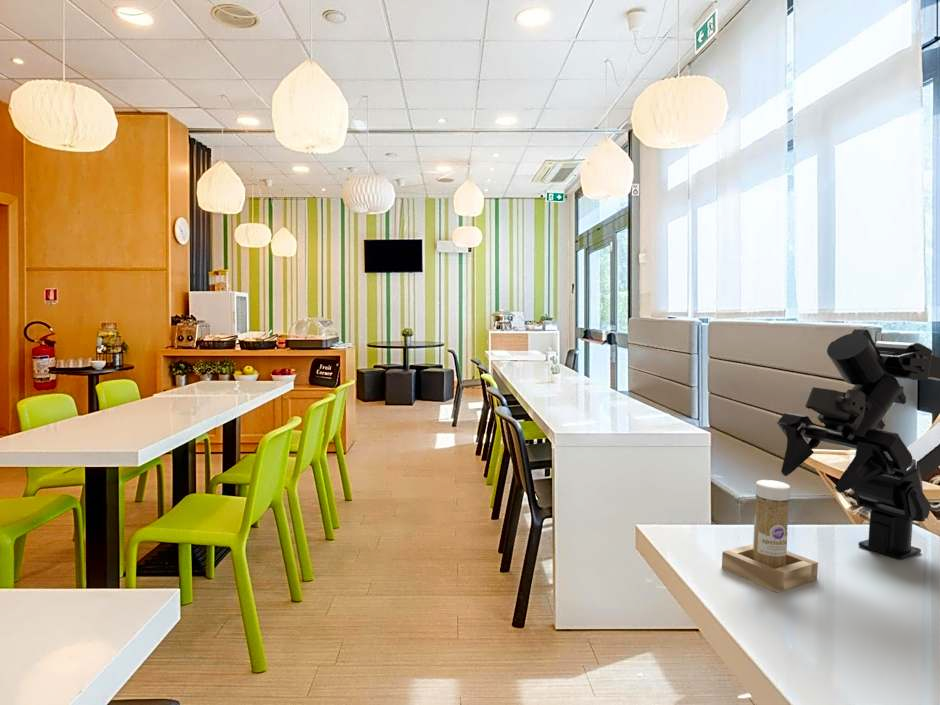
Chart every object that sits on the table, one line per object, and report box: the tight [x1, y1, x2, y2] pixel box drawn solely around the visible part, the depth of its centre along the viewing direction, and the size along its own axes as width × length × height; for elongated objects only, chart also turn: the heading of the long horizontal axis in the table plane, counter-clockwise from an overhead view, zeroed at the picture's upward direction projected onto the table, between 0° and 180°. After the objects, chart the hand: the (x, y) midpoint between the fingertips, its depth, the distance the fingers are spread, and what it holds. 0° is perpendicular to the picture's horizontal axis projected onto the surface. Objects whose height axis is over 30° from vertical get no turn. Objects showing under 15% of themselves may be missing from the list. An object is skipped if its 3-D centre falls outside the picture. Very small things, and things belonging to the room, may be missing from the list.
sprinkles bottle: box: [752, 479, 792, 569], centre depth 91 cm, size 5×5×13 cm
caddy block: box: [721, 543, 819, 593], centre depth 92 cm, size 9×9×2 cm
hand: (809, 482), depth 94 cm, fingers open, 9 cm apart
